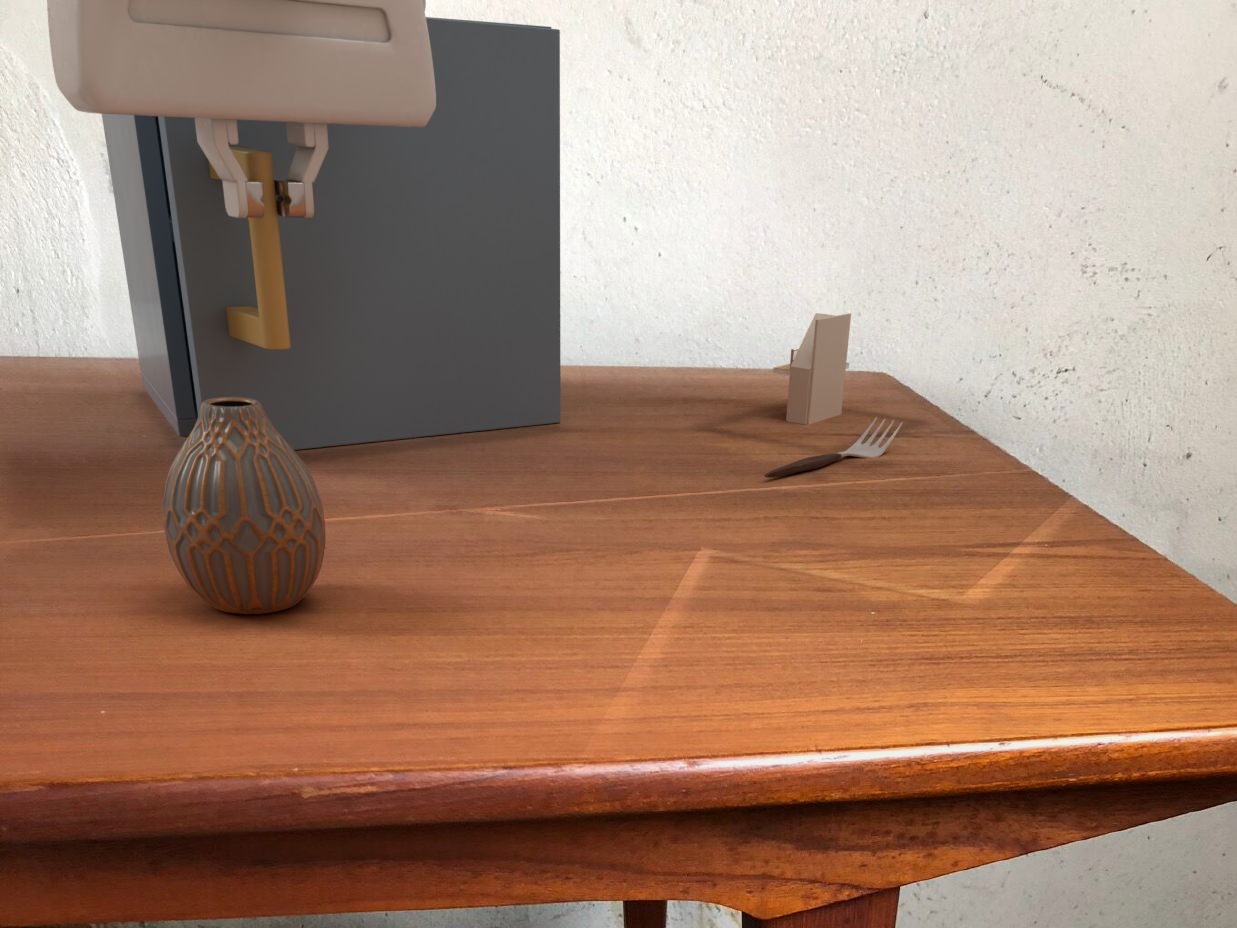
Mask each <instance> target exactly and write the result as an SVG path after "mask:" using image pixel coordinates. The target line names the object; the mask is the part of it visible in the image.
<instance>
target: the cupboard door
mask: <svg viewBox="0 0 1237 928" xmlns="http://www.w3.org/2000/svg"><path fill="white" fill-rule="evenodd" d="M436 18H437V17H433V18H426V22H427V27H428V33H429V39H430V46H431V53H432V60H433V69H434V78H435V89H436V108H435V111H434V113H433V115H432V116H431V118H430V120H429V122H428V123H427V125H426V126H425V127H423V128H417V127H394V126H371V125H348V124H327V132H328V146H329V149H328V151H327V153H326V156H325V158H324V160H323V163H322V165H321V167H320V170H319V172H318V174H317V177H316V179H315V181H314V182H312V189H313V202H314V215H313V217H312V218H288V217H282V216H279V215H278V212H277V202H276V200H277V196H276V192H275V182H274V180H287V179H286V178H287V175H288V173H289V170H290V167H291V164H292V161H293V158H294V155H295V153H296V150H297V147H298V145H291V144H289V143H288V138H287V128H286V122H279V121H256V120H237V129H238V140H239V143H238V144H237V145H236V144H228V145H229V147H230V149H231V151H232V153H233V154H234V156H235V158H236V160H237V162H238V164H239V165H240V167H241V169H242V171H243V173H244V174H245V176H246V178H247V180H253V181H258V182H262V190H263V197H262V199H261V201H262V203H263V204H264V216H263V217H262V218H236V217H231V216H229V215H228V213H227V211H226V208H225V200H224V191H223V182H222V179H220V178H219V176H218V175H217V173H216V171H215V170H214V168H213V166H212V165H211V163H210V162H209V160H208V158H207V157H206V155H205V154H204V152H203V150H202V149H201V147H200V145H199V144H198V142H197V134H196V126H195V118H186V117H163V116H158V119H159V127H160V134H161V142H162V149H163V157H164V164H165V172H166V179H167V187H168V194H169V202H170V209H171V217H172V224H173V232H174V239H175V246H176V254H177V261H178V269H179V276H180V284H181V291H182V299H183V306H184V314H185V321H186V329H187V336H188V344H189V351H190V359H191V366H192V374H193V381H194V389H195V396H196V404H197V411H198V416H199V412H200V409H201V405H202V403H203V402H204V401H205V400H208V399H212V398H219V397H243V398H250V399H254V400H257V401H258V402H260V404H261V406H262V408H263V409H264V411H265V413H266V415H267V417H268V419H269V420H270V422H271V424H272V425H273V427H274V428H275V429H276V430H277V431H278V433H279V434H280V435H281V436H282V437H283V438H284V439H285V441H286V442H287V443H288V444H289V445H290V446H291V448H292V449H293V450H294V451H301V450H309V449H319V448H330V447H338V446H339V447H340V446H348V445H356V444H357V445H358V444H366V443H376V442H387V441H398V440H406V439H415V438H425V437H434V436H436V437H437V436H443V435H444V436H445V435H453V434H462V433H463V434H464V433H474V432H483V431H492V430H501V429H502V430H503V429H511V428H512V429H513V428H522V427H531V426H540V425H549V424H550V425H551V424H558V423H559V424H560V423H562V422H561V419H562V418H561V409H562V406H561V402H562V401H561V396H562V395H561V391H562V390H561V385H562V384H561V382H562V381H561V30H560V29H558V28H551V29H549V28H537V27H526V26H515V25H504V24H492V23H481V22H470V21H459V20H460V19H458V20H447V19H448V18H445V19H436Z"/></svg>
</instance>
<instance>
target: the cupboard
mask: <svg viewBox="0 0 1237 928" xmlns="http://www.w3.org/2000/svg"><path fill="white" fill-rule="evenodd" d="M426 18H434V17H431V16H426ZM435 18H436V19H447V20H459V21H470V22H481V23H492V24H504V25H515V26H526V27H537V28H549V29H552V26H546V25H533V24H520V23H510V22H509V23H507V22H497V21H496V22H495V21H485V20H484V21H482V20H470V19H469V20H468V19H457V18H445V17H435ZM101 119H102V126H103V131H104V138H105V145H106V152H107V158H108V159H107V160H108V165H109V166H108V167H109V171H110V172H109V173H110V177H111V179H110V180H111V185H112V193H113V198H114V205H115V211H116V218H117V225H118V231H119V238H120V243H121V245H120V246H121V251H122V257H123V264H124V270H125V271H124V272H125V276H126V284H127V290H128V297H129V303H130V311H131V316H132V322H133V329H134V330H133V331H134V336H135V342H136V343H135V344H136V350H137V355H138V362H139V363H138V364H139V369H140V375H141V381H142V382H141V383H142V387H143V389H144V390H145V391H146V393H147V394H148V396H149V397H150V398H151V400H152V401H153V403H154V404H155V406H157V408H158V409H159V411H160V413H162V415H163V416H164V418H165V419H166V420H167V422H168V424H169V425H170V426H171V427H172V429H173V430H174V432H175V433H176V434H177V436H178V437H182V438H183V437H189V435H190V433H191V432H192V430H193V428H194V426H195V424H196V422H197V419H198V411H197V404H196V396H195V389H194V381H193V374H192V366H191V359H190V351H189V344H188V336H187V329H186V321H185V314H184V306H183V299H182V291H181V284H180V276H179V269H178V261H177V254H176V246H175V239H174V232H173V224H172V217H171V209H170V202H169V194H168V187H167V179H166V172H165V164H164V157H163V149H162V142H161V134H160V127H159V119H158V116H140V115H117V114H101Z"/></svg>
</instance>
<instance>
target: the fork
mask: <svg viewBox="0 0 1237 928" xmlns="http://www.w3.org/2000/svg"><path fill="white" fill-rule="evenodd" d="M877 420H878V416H876V417H875V418H874V419H873V421H872V422H871V423H870V424H869V426H868V427H867V428H866V429H865V431H864V432H863V433H862V434H861V436H860V437H859V438H858V439H857V440H856V442H854V443H853V444H852V445H851V446H849V448H847V449H846V450H845V451H840V452H834V453H827V454H826V453H825V454H821V455H813V456H808V457H804V458H802V459H799V460H797V461H793V462H791V463H788V464H786V465H783V466H779V467H777V468H775V469H772V470H770V471H768V472H767V473H766V474H764V477H765V478H768V479H770V478H778V477H783V476H788V475H791V474H795V473H796V474H797V473H799V472H801V473H802V472H805V471H811V470H816V469H819V468H822V467H824V466H827V465H829V464H831V463H833V462H835V461H838V460H840V459H841V458H844V457H855V458H860V459H875V458H879V457H881V456H882V455H883V454H884V453H885V452H886V450H887V449H888V448H889V446H890V445H891V443H892V442H893V441H894V439H895V437H896V436H897V434H898V433H899V431H900V429H901V428H902V427H903V425H904V422H903V421H901V422H900V424H899V425H898V426H897V428H896V429H895V430H894V431H893V433H892V434H891V436H890V437H889V438H888V439H887V441H886V442H885V443H884V444H883V445H881V444H882V442H883V441H884V439H885V438H886V436H887V435H888V433H889V431H890V430H891V428H893V427H892V426H893V425H894V423H895V419H893V420H892V421H891V423H889V425H888V426H887V428H886V429H885V431H883V433H882V434H881V436H880V437H879V438H878V439H877V440H876V442H875V443H874V444H872V442H873V441H874V440H875V438H876V437H877V436H878V434H879V432H880V431H881V429H882V427H883V426H884V424H885V422H886V418H884V419H883V421H882V422H881V423H880V424H879V425H878V427H877V428H876V429H875V431H874V432H873V433H872V434H871V436H870V437H869V438H868V439H867V440H866V441H865V442H864V440H865V438H866V437H867V435H868V434H869V432H870V431H871V430H872V428H873V426H874V425H875V423H876V422H877ZM863 442H864V443H863ZM880 445H881V446H880Z"/></svg>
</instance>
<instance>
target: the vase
mask: <svg viewBox="0 0 1237 928" xmlns="http://www.w3.org/2000/svg"><path fill="white" fill-rule="evenodd" d="M162 521H163V527H164V528H163V529H164V535H165V538H166V542H167V547H168V550H169V552H170V556H171V558H172V561H173V563H174V565H175V567H176V569H177V571H178V573H179V574H180V576H181V578H182V579H183V582H185V583H186V585H187V586H188V587H189V588H190V589H191V590H192V591H193V593H194V594H196V595H197V596H198V597H199V598H200V599H201V600H203V601H204V602H205V603H207V604H208V605H209V606H210V607H212V608H214V609H216V610H218V611H220V612H224V613H229V614H238V615H263V614H271V613H276V612H281V611H285V610H289V609H290V608H292V607H294V606H296V605H297V604H299V602H301V600H303V598H304V597H305V596H306V595H307V594H308V592H309V591H310V590H311V589H312V588H313V586H314V584H315V583H316V582H317V581H316V580H317V579H318V577H319V574H320V571H321V569H322V566H323V561H324V557H325V550H326V519H325V512H324V508H323V503H322V499H321V496H320V492H319V490H318V488H317V485H316V482H315V480H314V478H313V476H312V474H311V472H310V470H309V468H308V467H307V465H306V463H305V462H304V461H303V460H302V458H301V457H300V456H299V454H298V453H297V452H296V450H293V449H292V448H291V446H290V445H289V444H288V443H287V442H286V441H285V439H284V438H283V437H282V436H281V435H280V434H279V433H278V431H277V430H276V429H275V428H274V427H273V425H272V424H271V422H270V420H269V419H268V417H267V415H266V413H265V411H264V409H263V408H262V406H261V404H260V402H258V401H257V400H254V399H250V398H243V397H219V398H212V399H208V400H205V401H204V402H203V403H202V405H201V409H200V412H199V416H198V419H197V422H196V424H195V426H194V428H193V430H192V432H191V433H190V435H189V436H187V438H186V440H185V441H184V442H183V445H182V446H181V447H180V449H179V451H178V452H177V454H176V456H175V458H174V459H173V461H172V463H171V465H170V468H169V470H168V474H167V476H166V480H165V484H164V491H163V497H162Z"/></svg>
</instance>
